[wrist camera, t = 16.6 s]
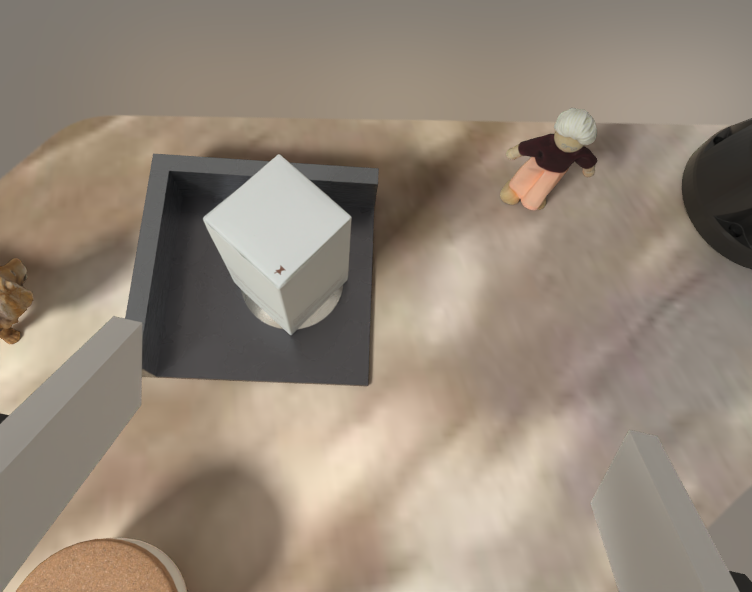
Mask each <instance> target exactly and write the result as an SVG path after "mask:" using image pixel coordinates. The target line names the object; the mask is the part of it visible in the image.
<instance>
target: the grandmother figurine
mask: <svg viewBox="0 0 752 592" xmlns="http://www.w3.org/2000/svg"><path fill="white" fill-rule="evenodd" d="M554 128H555V134H548V135H545V136H541V137H537V138H534V139H530V140H527V141H523V142H521V143H520V144H518V145H516V146H515V147H514V148H510V149H509V150H508V151H507V153H506V156H507V158H508V159H510V160H514V159H516V158H517V157H521V156H530V157H531V158H530V159H529V160H528V161H527V162H526V163H525V164H524V165H523V166H522V167H521V168H520V169H519V170H518V171H517V172H516V174H515V175H514V177H513V178H512V179H511V180H509V181H508V182H507V183H506V185H505V186H504V188H503V189H502V191H501V193H500V197H501V199H502V200H503V201H504V202H505V203H507V204H510V205H514V204H517V203H518V202H519V201H520V199H521V202H522V204H523V205H524V207H526V208H528V209H530V210H540V209H542V208H544V207H545V205H546V196H547V195H548V194H549V193H550V192H551V190H552V189H553V188H554V187H555V186H556V184H557V183H558V182H559V181H560V179H561V178H562V177H563V175H564V174H565V173H566V172H567V171H568V169H569V167H570V166H571V164H572V163H573V162H574V161H575V162H576V163H577V164H578V165H579V166H581V167H582V168H583V170H582V172H583V174H584V176H586V177H591V176H593V175H594V173H595V164H596V163H597V158H596V157H595V156H594V155H593V153H592V152H591V151H590V150H589V149H588V148H586V147H584V145H589V144H591V143H593V142H594V141H595V139H596V136H597V129H596V124H595V121H594V119H593V118H592V117H591V115H589V114H588V112H587V111H585V110H583V109H576V108H570V109H569V110H567V111H564V112H562V113H561V114H560V115H559V117H558V119H557V121H556V123H555V126H554Z"/></svg>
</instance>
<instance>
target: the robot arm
mask: <svg viewBox="0 0 752 592" xmlns="http://www.w3.org/2000/svg"><path fill="white" fill-rule="evenodd" d="M682 195H683V201H684V205H685V208H686V211H687V213H688V216H689V218H690V220H691V222H692V223H693V225H694V227H695V228H696V230H697V231H698V232H699V234H700V235H701V236H702V237H703V239H704V240H705V241H706V242H707V243H708V244H709V245H710V246H711V247H712V248H714V249H715V250H716V251H717V252H719V253H720V254H721V255H723V256H724V257H726V258H727V259H729V260H731V261H733V262H735V263H737V264H739V265H741V266H744V267H747V268H750V269H752V118H751V119H748V120H746V121H743V122H740V123H738V124H735V125H733V126H730V127H728V128H725V129H723V130H721V131H720V132H718V133H716V134H715V135H713V136H712V137H711V138H710V139H708V140H707V141H706V142H705V143H704V144H703V145H702V146H701V147H699V148H698V149H697V150H696V151H695V152H694V153H693V155H692V156H691V157H690V159H689V161H688V163H687V165H686V167H685V170H684V173H683V179H682ZM141 389H142V322H138V321H133V320H129V319H124V318H119V317H115V316H113V317H112V318H111V319H110V320H109V321H108V322H107V323H106V324H105V325H104V326H103V327H102V328H101V329H100V330H99V331H98V332H96V333H95V334H94V335H93V336H92V337H91V338H90V339H89V340H88V341H87V342H86V343H85V344H84V345H83V346H82V347H81V348H80V349H79V350H78V351H76V352H75V353H74V354H73V355H72V356H71V357H70V358H69V359H68V360H67V361H66V362H65V363H64V364H63V365H62V366H61V367H60V368H59V369H58V370H56V371H55V372H54V373H53V374H52V375H51V376H50V377H49V378H48V379H47V380H46V381H45V382H44V383H43V384H42V385H41V386H40V387H39V388H38V389H36V390H35V391H34V392H33V393H32V394H31V395H30V396H29V397H28V398H27V399H26V400H25V401H24V402H23V403H22V404H21V405H20V406H19V407H18V408H16V409H15V410H14V411H13V412H12V413H11V414H10V415H5V414H0V592H2V591H3V590H4V589H5V587H6V586H7V585H8V583H9V582H10V581H11V579H12V578H13V577H14V575H15V574H16V572H17V571H18V570H19V568H20V567H21V566H22V564H23V563H24V562H25V560H26V559H27V558H28V556H29V555H30V554H31V552H32V551H33V550H34V548H35V547H36V546H37V544H38V543H39V542H40V540H41V539H42V538H43V536H44V535H45V534H46V532H47V531H48V529H49V528H50V527H51V525H52V524H53V523H54V521H55V520H56V519H57V517H58V516H59V515H60V513H61V512H62V511H63V509H64V508H65V507H66V505H67V504H68V503H69V501H70V500H71V499H72V497H73V496H74V495H75V493H76V492H77V491H78V489H79V488H80V486H81V485H82V484H83V482H84V481H85V480H86V478H87V477H88V476H89V474H90V473H91V472H92V470H93V469H94V468H95V466H96V465H97V464H98V462H99V461H100V460H101V458H102V457H103V456H104V454H105V453H106V452H107V450H108V449H109V448H110V446H111V445H112V443H113V442H114V441H115V439H116V438H117V437H118V435H119V434H120V433H121V431H122V430H123V429H124V427H125V426H126V425H127V423H128V422H129V421H130V419H131V418H132V417H133V415H134V414H135V413H136V411H137V410H138V409H139V407H140V406H141ZM591 506H592V509H593V512H594V515H595V519H596V522H597V525H598V528H599V531H600V534H601V537H602V540H603V543H604V547H605V550H606V553H607V556H608V559H609V562H610V565H611V568H612V572H613V575H614V578H615V581H616V584H617V587H618V590H619V592H752V582H751V581H750V580H749V578H748V577H747V576H746V575H745V574H740V573H736V572H732V571H728V569H727V567H726V565H725V563H724V561H723V559H722V557H721V556H720V554H719V552H718V550H717V548H716V546H715V544H714V542H713V541H712V539H711V537H710V535H709V533H708V531H707V529H706V527H705V525H704V523H703V522H702V520H701V518H700V516H699V514H698V512H697V510H696V508H695V506H694V505H693V503H692V501H691V499H690V497H689V495H688V493H687V491H686V490H685V488H684V486H683V484H682V482H681V480H680V478H679V476H678V474H677V473H676V471H675V469H674V467H673V465H672V463H671V461H670V459H669V457H668V456H667V454H666V452H665V450H664V448H663V446H662V444H661V442H660V440H659V439H658V437H657V436H655V435H651V434H646V433H642V432H637V431H633V430H629V431H628V433H627V434H626V436H625V438H624V440H623V442H622V444H621V446H620V448H619V450H618V452H617V453H616V455H615V457H614V459H613V461H612V463H611V465H610V467H609V469H608V471H607V473H606V474H605V476H604V478H603V480H602V482H601V484H600V486H599V488H598V490H597V492H596V494H595V495H594V497H593V499H592V501H591Z"/></svg>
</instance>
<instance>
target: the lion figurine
mask: <svg viewBox="0 0 752 592" xmlns="http://www.w3.org/2000/svg"><path fill="white" fill-rule="evenodd" d="M26 272H27V270H26V268H25V266H24V265H23V264H22V261H21V260H19V259H18V258H14V259H12V260H11V261H10V262H8V263H7V264H6V265H4V266H0V338H1V339H3V340H4V341H5V342H7V343H8V344H14V343H16V342H18V340H19V339H20V332H19V331H17V330H14V329H13V328H11V326H12V324H15V323H18V318H19V317H20V316H21V315H22V314H23V313H24V312H25V311H26V310H27V308H28V307H29V306H30V305H31V303H32V301H33V294H32V292H30V291H29V290H28V289H26V288H24V287H23V283H24V282H25V280H26V279H27V274H26Z"/></svg>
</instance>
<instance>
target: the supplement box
mask: <svg viewBox="0 0 752 592" xmlns="http://www.w3.org/2000/svg"><path fill="white" fill-rule="evenodd" d="M351 218H352V217H351V216H350V215H349V214H348V213H347V212H346V211H345V210H343V209H342V208H341V207H340V206H339V205H338V204H337V203H336V202H334V201H333V200H332V199H331V198H330V197H329V196H327V195H326V194H325V193H324V192H323V191H322V190H321V189H319V188H318V187H317V186H316V185H315V184H314V183H313V182H311V181H310V180H309V179H308V178H307V177H306V176H304V175H303V174H302V173H301V172H300V171H299V170H297V169H296V168H295V167H294V166H293V165H292V164H290V163H289V162H288V161H287V160H286V159H285V158H283V157H282V156H281V155H280V154H278V155H277V156H276V157H275V158H273V159H272V160H271V161H270V162H269V163H268V164H266V165H265V166H264V167H263V168H262V169H261V170H260V171H258V172H257V173H256V174H255V175H254V176H253V177H251V178H250V179H249V180H248V181H247V182H246V183H244V184H243V185H242V186H241V187H240V188H238V189H237V190H236V191H235V192H234V193H232V194H231V195H230V196H229V197H227V198H226V199H225V200H224V201H223V202H221V203H220V204H219V205H218V206H216V207H215V208H214V209H213V210H212V211H210V212H209V213H208V214H207V215H205V216H204V217H203V221H204V223H205V225H206V227H207V230H208V232H209V234H210V236H211V238H212V240H213V241H214V243H215V245H216V247H217V249H218V251H219V253H220V255H221V257H222V259H223V261H224V263H225V265H226V267H227V269H228V270H229V273H230V275H231V277H232V279H233V281H234V283H235V284H236V285H237V286H238V287H239V288H240V289H241V290H242V291H243V292H244V293H245V294H247V295H248V296H249V297H250V298H251V299H252V300H253V301H254V302H255V303H256V304H257V305H258V306H259V307H260V308H261V309H263V310H264V311H265V312H266V313H267V314H268V315H269V316H270V317H271V318H272V319H273V320H274V321H276V322H277V323H278V324H279V325H280V326H281V327H282V328H283V329H284V330H285V331H286V332H287V333H288V334H290V335H292V334H293V333H294V332H295V331H296V330H297V329H298V328H299V327H300V326H301V325H302V324H303V323H304V322H305V321H306V320H307V319H308V318H309V317H310V316H311V315H313V314H314V313H315V311H316V310H317V309H318V308H319V307H321V306H322V305H323V304H324V303H325V302H326V301H327V300H328V299H329V298H330V297H331V296H332V295H333V294H334V293H335V292H336V291H337V290H338V289H339V288H340V287H341V286H342V285H343V284H344V283H345V282H346V281H347V279H348V268H349V251H350V233H351Z"/></svg>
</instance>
